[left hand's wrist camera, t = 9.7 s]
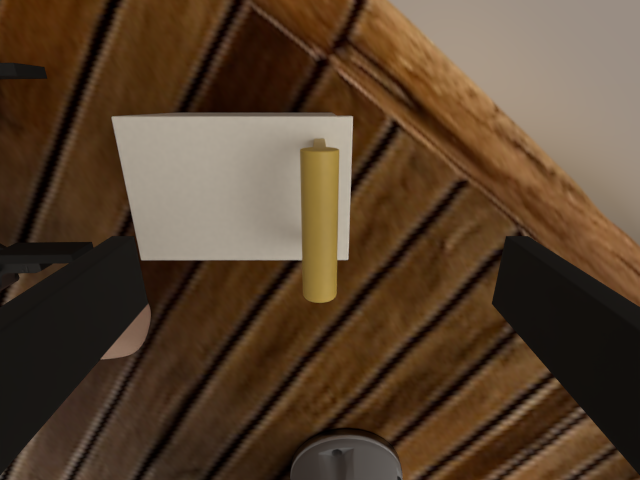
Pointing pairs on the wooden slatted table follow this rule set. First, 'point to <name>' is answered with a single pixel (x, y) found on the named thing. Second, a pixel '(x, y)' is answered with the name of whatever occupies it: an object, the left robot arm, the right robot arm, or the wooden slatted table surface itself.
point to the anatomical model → (131, 336)
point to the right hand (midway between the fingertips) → (60, 170)
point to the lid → (241, 190)
